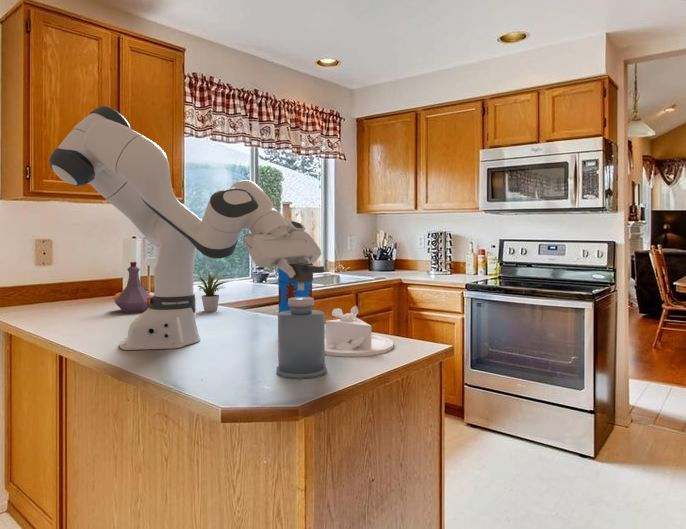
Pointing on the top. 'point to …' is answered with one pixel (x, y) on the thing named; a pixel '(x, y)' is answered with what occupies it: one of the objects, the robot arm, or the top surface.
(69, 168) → the robot arm
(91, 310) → the top surface
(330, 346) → the dish
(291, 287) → the thermos
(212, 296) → the house plant
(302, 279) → the pump head
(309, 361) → the dispenser
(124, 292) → the flask
